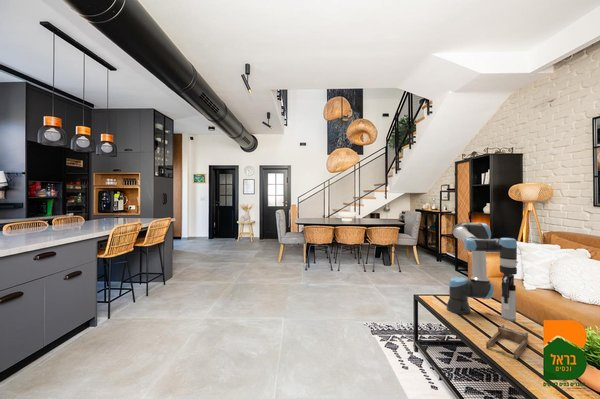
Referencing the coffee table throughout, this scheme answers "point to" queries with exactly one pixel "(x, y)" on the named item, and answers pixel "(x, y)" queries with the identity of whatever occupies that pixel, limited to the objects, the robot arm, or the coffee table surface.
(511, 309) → the travel mug
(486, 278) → the robot arm
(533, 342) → the coffee table surface
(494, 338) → the bay
